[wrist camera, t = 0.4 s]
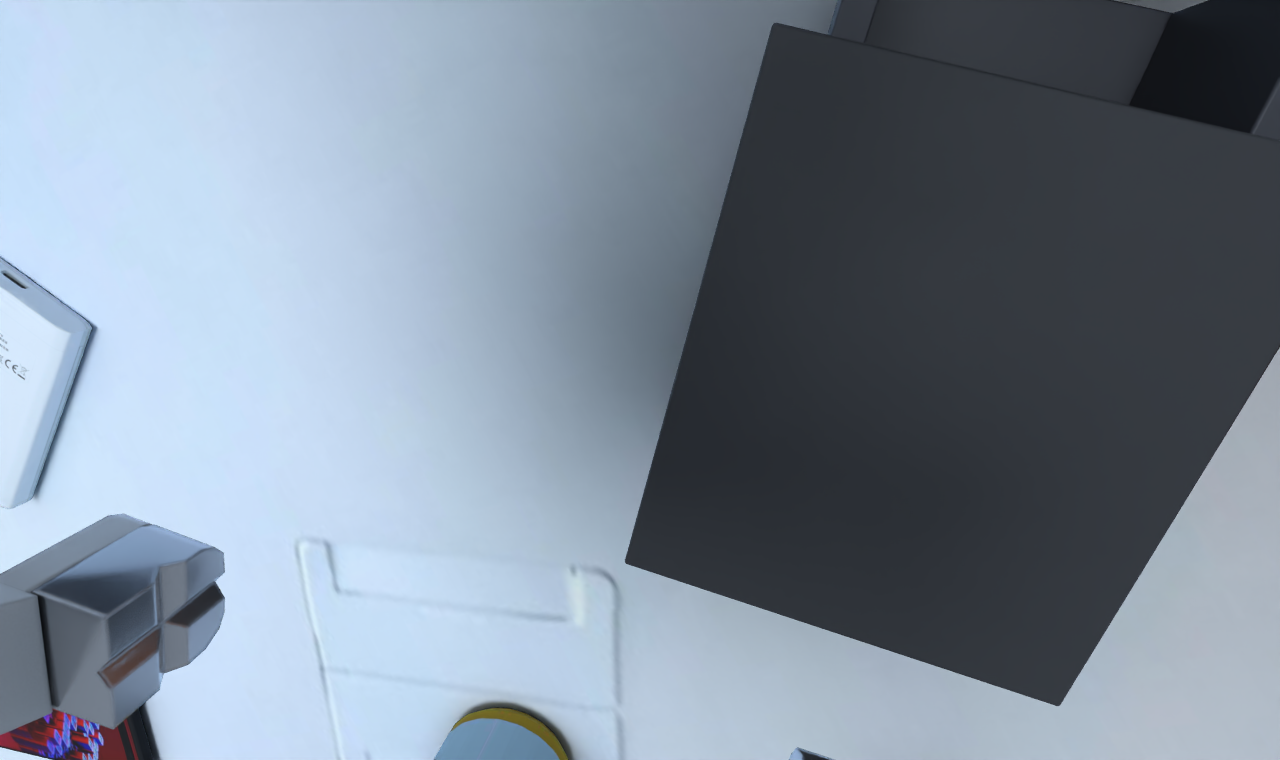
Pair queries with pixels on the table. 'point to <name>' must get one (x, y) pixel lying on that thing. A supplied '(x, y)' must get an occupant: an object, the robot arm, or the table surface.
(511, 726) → the bottle
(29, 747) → the smartphone
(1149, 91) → the drawer
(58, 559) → the robot arm
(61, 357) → the hard drive
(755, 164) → the dark grey box
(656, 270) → the table surface
